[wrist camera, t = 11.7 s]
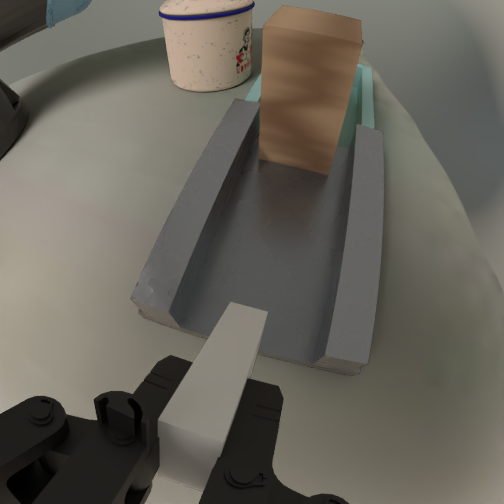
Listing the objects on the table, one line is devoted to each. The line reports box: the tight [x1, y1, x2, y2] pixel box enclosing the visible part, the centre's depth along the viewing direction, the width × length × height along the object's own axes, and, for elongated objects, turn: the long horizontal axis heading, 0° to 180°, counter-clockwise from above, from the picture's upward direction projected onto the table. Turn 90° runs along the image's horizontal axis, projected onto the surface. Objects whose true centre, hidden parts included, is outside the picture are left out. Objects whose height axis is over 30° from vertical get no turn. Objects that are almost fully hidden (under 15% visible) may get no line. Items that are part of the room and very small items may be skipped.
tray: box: [245, 63, 374, 148], centre depth 25 cm, size 10×12×3 cm
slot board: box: [130, 99, 384, 376], centre depth 18 cm, size 12×16×4 cm
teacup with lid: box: [159, 0, 255, 92], centre depth 25 cm, size 12×9×12 cm
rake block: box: [259, 6, 362, 175], centre depth 18 cm, size 5×5×10 cm
